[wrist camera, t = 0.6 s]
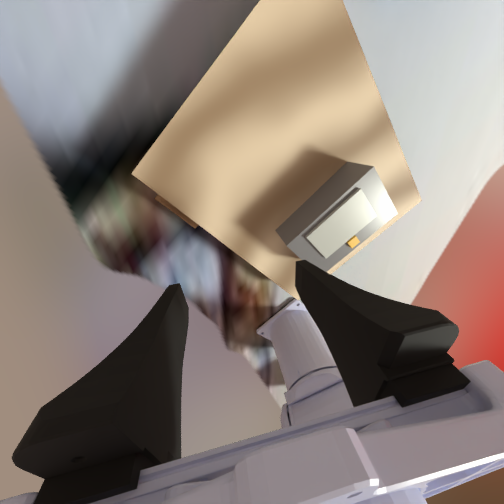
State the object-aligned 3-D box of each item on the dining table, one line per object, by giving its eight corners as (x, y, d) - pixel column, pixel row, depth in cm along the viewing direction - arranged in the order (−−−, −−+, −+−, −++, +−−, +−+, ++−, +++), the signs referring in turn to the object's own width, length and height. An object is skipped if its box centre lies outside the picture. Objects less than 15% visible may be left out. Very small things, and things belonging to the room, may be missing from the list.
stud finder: (371, 202, 18) (400, 214, 16) (305, 259, 20) (321, 279, 18) (347, 161, 16) (376, 167, 13) (275, 230, 18) (287, 247, 15)
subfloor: (401, 185, 22) (430, 192, 19) (282, 286, 26) (291, 305, 23) (300, -41, 13) (329, -94, 10) (137, 175, 17) (123, 184, 14)
